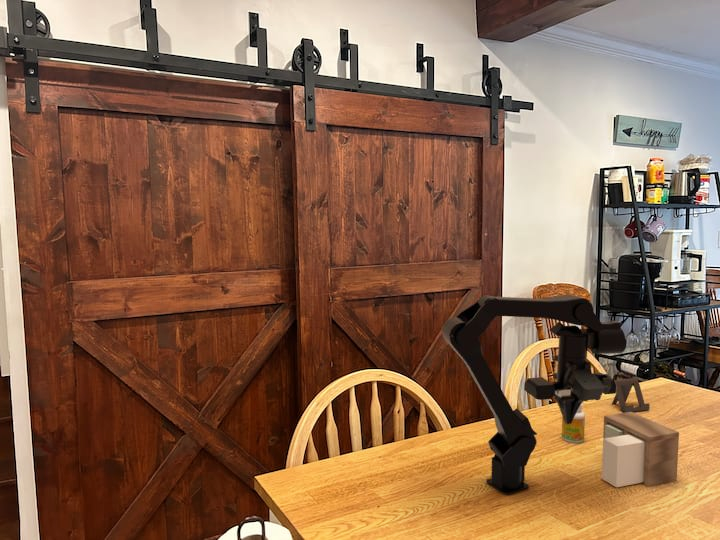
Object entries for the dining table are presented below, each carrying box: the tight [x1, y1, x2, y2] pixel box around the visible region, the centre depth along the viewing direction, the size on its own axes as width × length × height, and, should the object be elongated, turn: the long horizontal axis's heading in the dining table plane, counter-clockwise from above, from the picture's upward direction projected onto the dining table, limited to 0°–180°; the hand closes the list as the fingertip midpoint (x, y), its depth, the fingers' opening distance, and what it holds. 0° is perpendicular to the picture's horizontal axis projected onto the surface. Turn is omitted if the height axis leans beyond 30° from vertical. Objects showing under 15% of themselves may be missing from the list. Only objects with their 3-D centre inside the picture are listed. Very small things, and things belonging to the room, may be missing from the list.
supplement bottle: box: [561, 403, 586, 444], centre depth 136 cm, size 5×5×10 cm
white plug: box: [601, 434, 646, 488], centre depth 115 cm, size 12×4×9 cm, turn 108°
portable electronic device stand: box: [611, 377, 650, 413], centre depth 159 cm, size 9×8×8 cm
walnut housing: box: [602, 412, 680, 487], centre depth 119 cm, size 9×13×11 cm
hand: (567, 423), depth 115 cm, fingers closed
